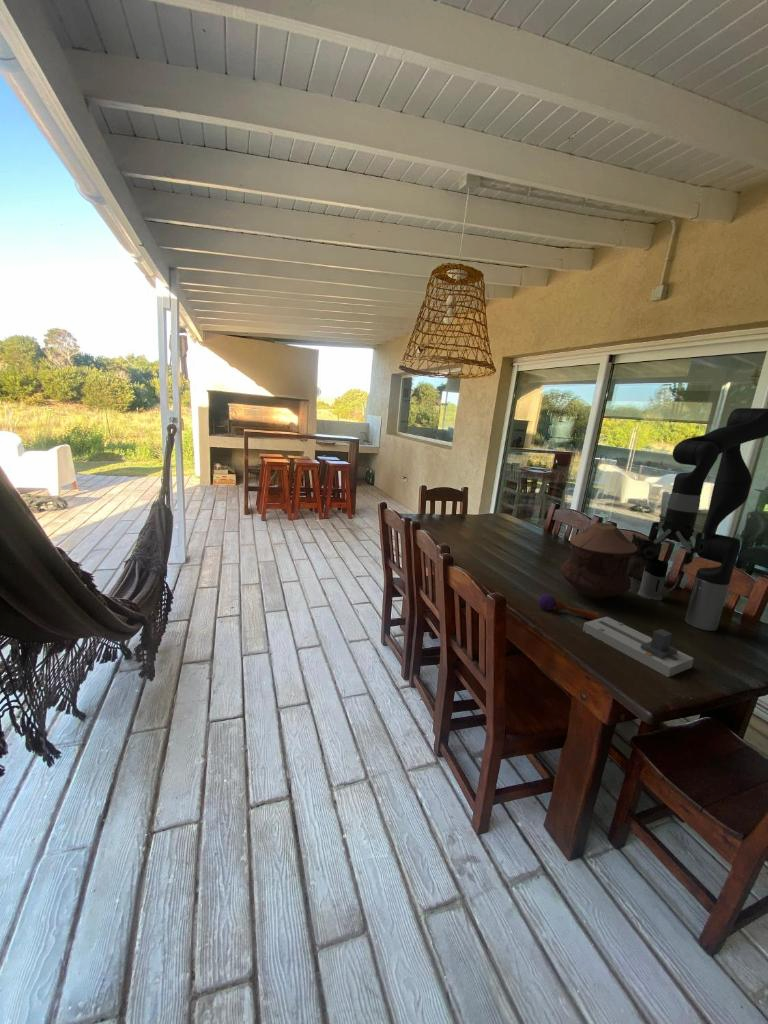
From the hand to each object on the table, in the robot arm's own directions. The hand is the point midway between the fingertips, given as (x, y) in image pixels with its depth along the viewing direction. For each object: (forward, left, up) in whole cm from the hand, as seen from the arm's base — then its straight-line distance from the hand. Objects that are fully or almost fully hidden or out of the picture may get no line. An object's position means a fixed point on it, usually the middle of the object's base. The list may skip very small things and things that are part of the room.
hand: (670, 559), depth 125 cm
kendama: (+10, -24, -29) cm, 39 cm away
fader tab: (+10, +7, -25) cm, 28 cm away
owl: (-57, -36, -28) cm, 73 cm away
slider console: (+10, 0, -28) cm, 30 cm away
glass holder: (-38, -20, -28) cm, 51 cm away
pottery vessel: (-14, -32, -28) cm, 45 cm away
